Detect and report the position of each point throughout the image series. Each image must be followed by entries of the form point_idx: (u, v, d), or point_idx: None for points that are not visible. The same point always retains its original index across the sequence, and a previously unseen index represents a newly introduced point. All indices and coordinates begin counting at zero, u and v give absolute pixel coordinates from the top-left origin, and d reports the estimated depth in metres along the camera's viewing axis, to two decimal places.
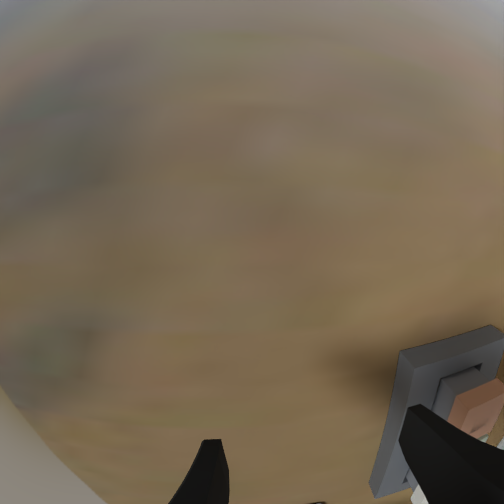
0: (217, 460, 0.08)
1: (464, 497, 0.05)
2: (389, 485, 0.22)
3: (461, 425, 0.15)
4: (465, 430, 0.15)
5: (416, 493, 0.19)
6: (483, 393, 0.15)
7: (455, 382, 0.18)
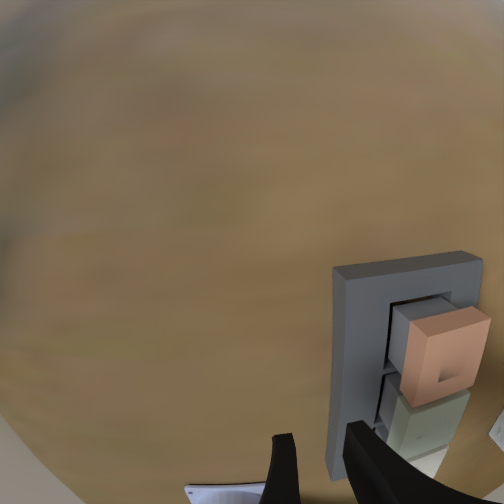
0: (295, 453, 0.08)
1: None
2: None
3: (422, 364, 0.12)
4: (431, 375, 0.13)
5: None
6: (451, 320, 0.13)
7: (413, 311, 0.16)
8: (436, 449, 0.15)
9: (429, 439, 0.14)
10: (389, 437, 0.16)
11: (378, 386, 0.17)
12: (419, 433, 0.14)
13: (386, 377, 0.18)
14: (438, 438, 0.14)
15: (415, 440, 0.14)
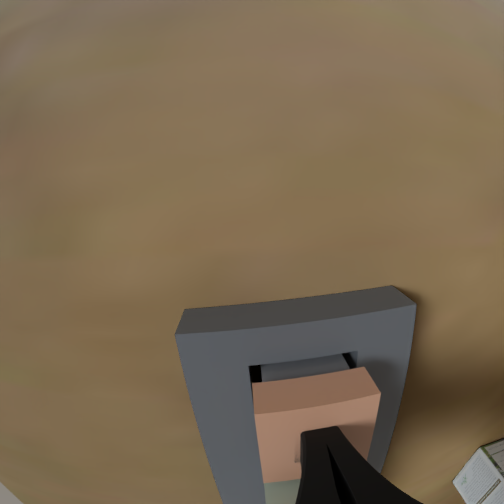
0: (326, 448, 0.08)
1: None
2: None
3: (258, 442, 0.10)
4: (278, 454, 0.10)
5: None
6: (312, 390, 0.10)
7: (279, 363, 0.13)
8: None
9: None
10: None
11: (256, 455, 0.13)
12: None
13: None
14: None
15: None
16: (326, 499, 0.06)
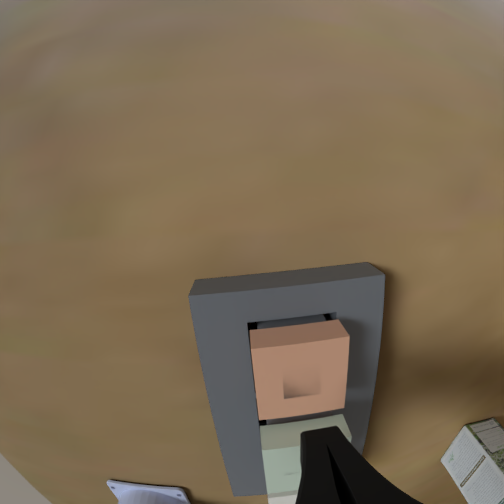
0: (326, 448, 0.08)
1: None
2: (244, 481, 0.19)
3: None
4: (270, 389, 0.14)
5: None
6: (296, 334, 0.14)
7: None
8: None
9: None
10: None
11: (254, 409, 0.17)
12: (285, 470, 0.13)
13: None
14: None
15: (283, 476, 0.13)
16: (326, 499, 0.06)
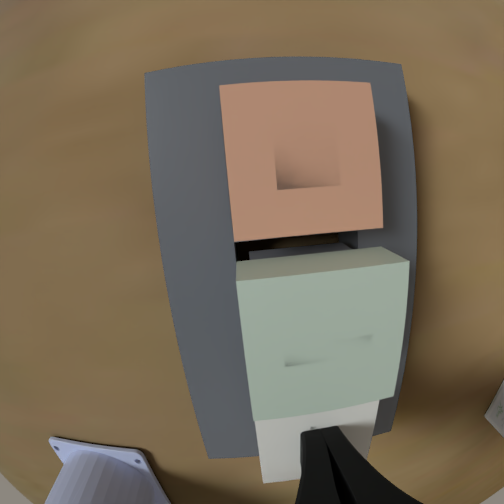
0: (326, 448, 0.08)
1: None
2: (223, 430, 0.13)
3: None
4: (253, 166, 0.08)
5: None
6: None
7: None
8: None
9: (325, 375, 0.08)
10: None
11: (232, 267, 0.11)
12: (286, 350, 0.08)
13: (249, 254, 0.12)
14: (351, 378, 0.08)
15: (284, 369, 0.08)
16: (326, 499, 0.06)
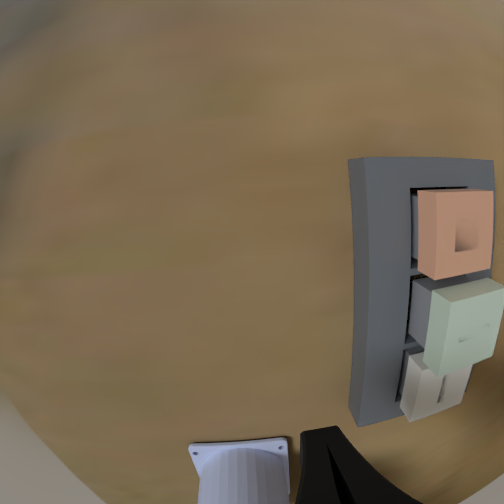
0: (326, 448, 0.08)
1: None
2: (375, 401, 0.18)
3: (436, 224, 0.13)
4: (446, 240, 0.13)
5: (406, 392, 0.17)
6: (456, 190, 0.14)
7: None
8: None
9: (471, 345, 0.13)
10: (426, 349, 0.15)
11: (407, 291, 0.16)
12: (460, 334, 0.13)
13: (414, 282, 0.17)
14: (479, 346, 0.13)
15: (457, 344, 0.13)
16: (326, 499, 0.06)
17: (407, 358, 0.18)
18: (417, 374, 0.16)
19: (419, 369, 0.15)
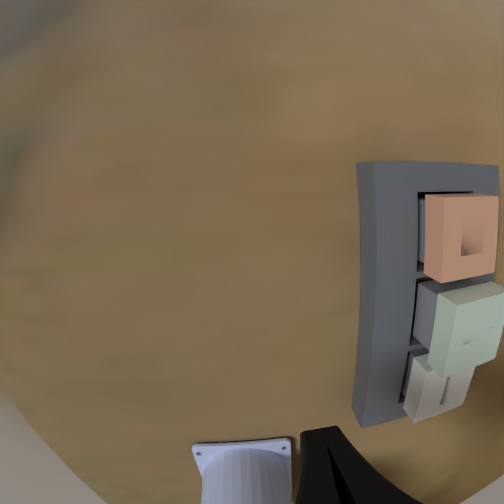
0: (326, 448, 0.08)
1: None
2: (379, 402, 0.18)
3: (443, 228, 0.13)
4: (453, 244, 0.13)
5: (409, 393, 0.17)
6: (462, 195, 0.14)
7: None
8: None
9: (474, 347, 0.13)
10: (431, 351, 0.15)
11: (412, 293, 0.17)
12: (465, 336, 0.13)
13: (419, 284, 0.17)
14: (482, 348, 0.13)
15: (462, 346, 0.13)
16: (326, 499, 0.06)
17: (411, 360, 0.18)
18: (421, 376, 0.16)
19: (423, 371, 0.15)
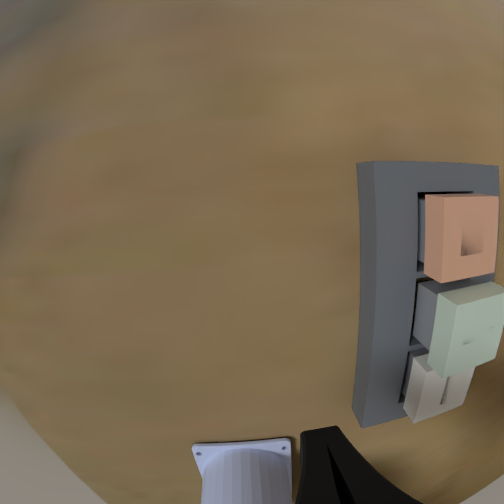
0: (326, 448, 0.08)
1: None
2: (379, 402, 0.18)
3: (443, 228, 0.13)
4: (453, 244, 0.13)
5: (409, 393, 0.17)
6: (462, 195, 0.14)
7: None
8: None
9: (474, 347, 0.13)
10: (431, 351, 0.15)
11: (412, 293, 0.17)
12: (465, 336, 0.13)
13: (419, 284, 0.17)
14: (482, 348, 0.13)
15: (462, 346, 0.13)
16: (326, 499, 0.06)
17: (411, 360, 0.18)
18: (421, 376, 0.16)
19: (423, 371, 0.15)
